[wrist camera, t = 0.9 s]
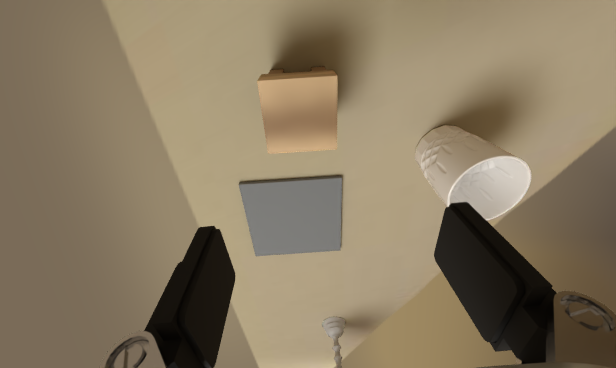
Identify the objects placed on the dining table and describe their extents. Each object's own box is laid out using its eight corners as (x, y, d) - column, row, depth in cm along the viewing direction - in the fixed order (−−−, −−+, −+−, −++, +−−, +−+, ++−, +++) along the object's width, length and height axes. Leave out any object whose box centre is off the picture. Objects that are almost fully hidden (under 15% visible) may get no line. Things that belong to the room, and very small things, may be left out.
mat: (239, 182, 35) (238, 184, 34) (341, 175, 35) (341, 177, 34) (256, 253, 42) (255, 256, 42) (339, 247, 42) (340, 250, 42)
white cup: (402, 173, 35) (436, 221, 27) (420, 117, 31) (467, 153, 23) (456, 176, 36) (506, 223, 27) (481, 122, 32) (549, 158, 23)
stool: (266, 66, 27) (257, 80, 21) (327, 62, 27) (337, 75, 21) (274, 125, 31) (268, 153, 24) (327, 121, 31) (336, 149, 24)
